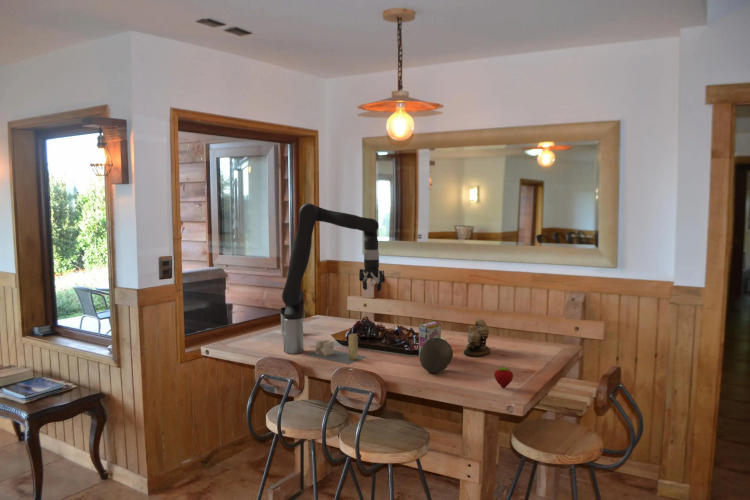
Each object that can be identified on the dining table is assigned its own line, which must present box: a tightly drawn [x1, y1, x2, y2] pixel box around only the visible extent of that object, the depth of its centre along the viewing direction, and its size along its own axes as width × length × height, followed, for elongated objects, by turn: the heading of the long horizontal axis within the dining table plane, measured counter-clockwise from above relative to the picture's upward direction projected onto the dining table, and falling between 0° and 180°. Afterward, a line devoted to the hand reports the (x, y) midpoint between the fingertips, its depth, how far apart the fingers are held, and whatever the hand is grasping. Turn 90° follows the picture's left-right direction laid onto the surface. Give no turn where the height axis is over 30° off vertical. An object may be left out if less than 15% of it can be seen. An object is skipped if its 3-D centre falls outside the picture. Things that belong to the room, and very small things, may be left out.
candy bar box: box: [418, 321, 442, 360], centre depth 270 cm, size 11×5×16 cm, turn 134°
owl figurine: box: [463, 318, 491, 358], centre depth 277 cm, size 18×12×17 cm, turn 150°
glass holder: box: [280, 306, 306, 337], centre depth 321 cm, size 9×14×15 cm, turn 107°
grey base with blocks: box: [305, 333, 368, 365], centre depth 273 cm, size 28×14×12 cm, turn 53°
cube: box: [315, 339, 335, 356], centre depth 277 cm, size 6×6×6 cm
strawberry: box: [493, 364, 514, 389], centre depth 225 cm, size 6×8×10 cm
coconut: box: [418, 337, 454, 374], centre depth 247 cm, size 14×14×15 cm
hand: (372, 290), depth 284 cm, fingers open, 8 cm apart
